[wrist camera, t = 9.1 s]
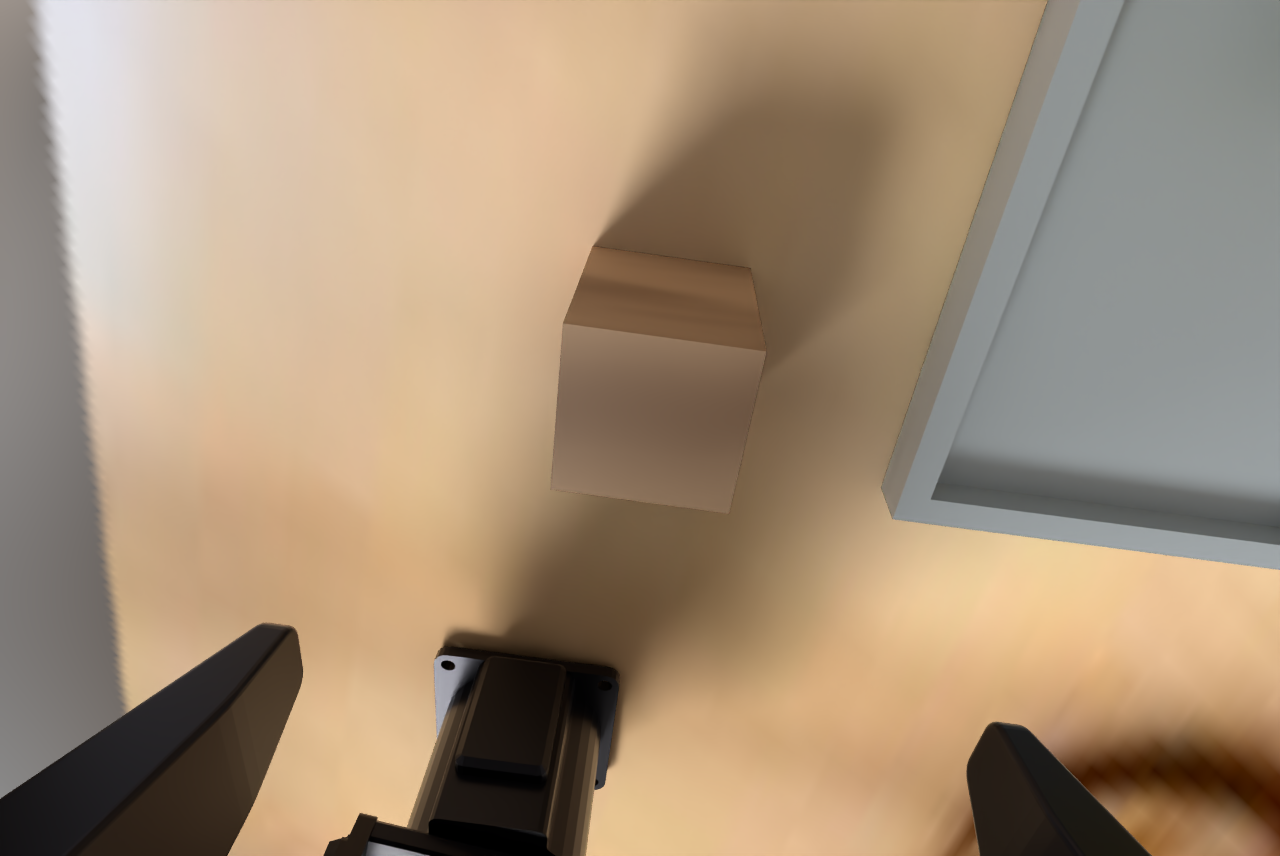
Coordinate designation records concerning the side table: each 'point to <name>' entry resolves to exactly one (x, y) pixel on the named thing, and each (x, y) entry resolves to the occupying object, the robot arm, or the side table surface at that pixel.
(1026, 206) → the tray
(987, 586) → the side table surface
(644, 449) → the walnut block
